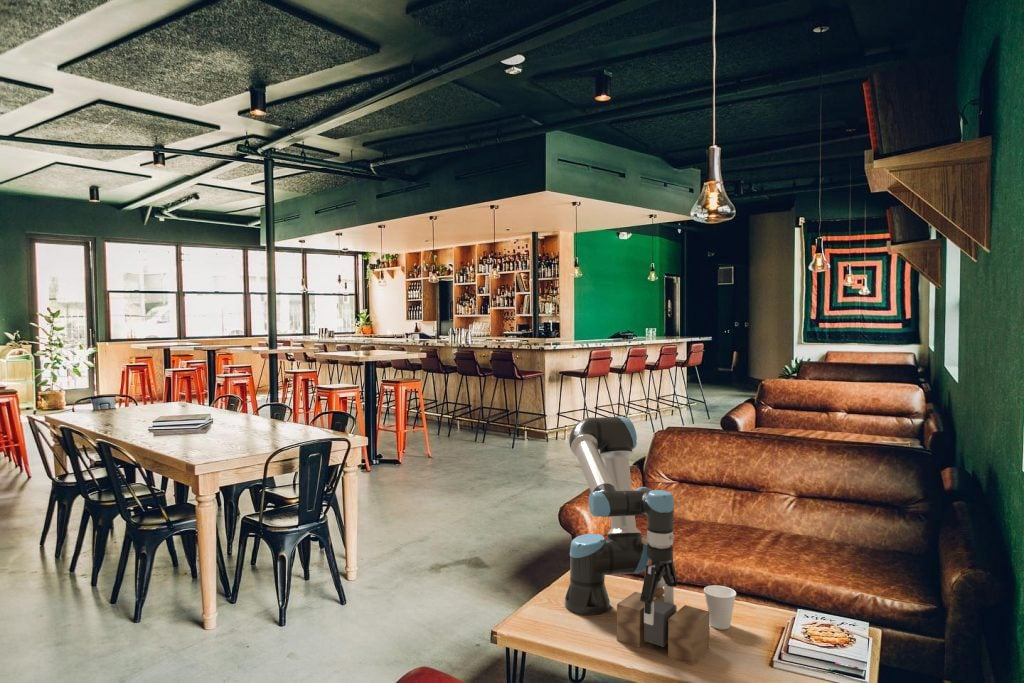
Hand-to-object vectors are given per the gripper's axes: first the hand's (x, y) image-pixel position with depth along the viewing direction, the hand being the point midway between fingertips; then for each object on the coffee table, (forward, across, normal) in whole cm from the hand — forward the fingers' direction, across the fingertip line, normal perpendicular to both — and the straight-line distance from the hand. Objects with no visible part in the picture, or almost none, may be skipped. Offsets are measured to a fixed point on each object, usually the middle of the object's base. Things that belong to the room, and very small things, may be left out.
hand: (659, 615), depth 190 cm
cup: (+10, +24, -10) cm, 28 cm away
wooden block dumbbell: (+9, +2, 0) cm, 9 cm away
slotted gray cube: (+7, 0, 0) cm, 7 cm away
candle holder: (+10, +22, +12) cm, 26 cm away
